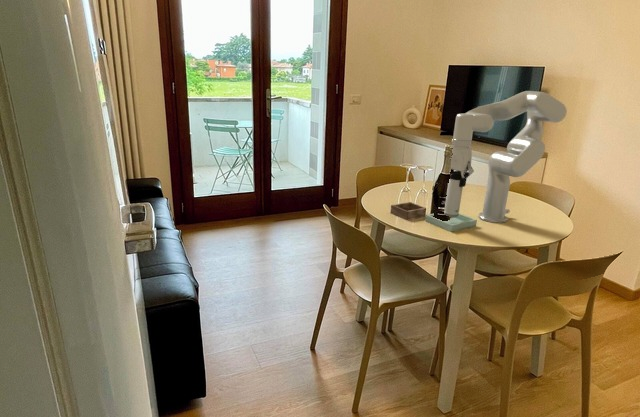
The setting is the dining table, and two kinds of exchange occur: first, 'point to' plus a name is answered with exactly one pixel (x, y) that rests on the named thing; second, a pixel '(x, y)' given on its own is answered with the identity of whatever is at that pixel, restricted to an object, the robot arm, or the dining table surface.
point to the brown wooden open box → (408, 210)
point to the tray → (452, 222)
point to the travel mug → (453, 195)
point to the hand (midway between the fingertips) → (455, 184)
